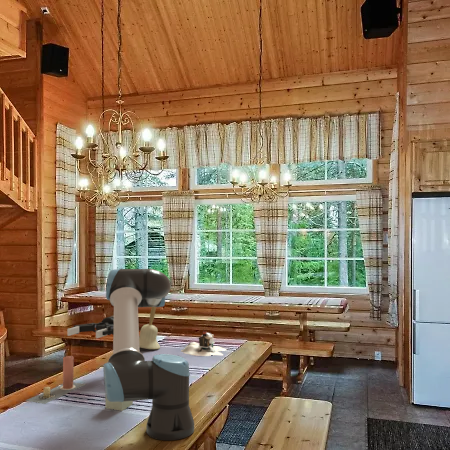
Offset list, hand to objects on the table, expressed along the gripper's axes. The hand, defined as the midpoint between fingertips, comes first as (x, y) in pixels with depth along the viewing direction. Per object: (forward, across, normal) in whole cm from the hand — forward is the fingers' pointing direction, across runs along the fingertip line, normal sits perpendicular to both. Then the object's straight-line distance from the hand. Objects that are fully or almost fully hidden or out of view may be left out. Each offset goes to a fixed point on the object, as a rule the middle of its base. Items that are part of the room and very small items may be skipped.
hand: (82, 333), depth 183 cm
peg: (-1, +7, -22) cm, 23 cm away
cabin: (-80, -21, -23) cm, 86 cm away
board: (+5, +7, -23) cm, 25 cm away
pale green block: (+8, -23, -23) cm, 33 cm away
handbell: (-72, +12, -22) cm, 76 cm away
